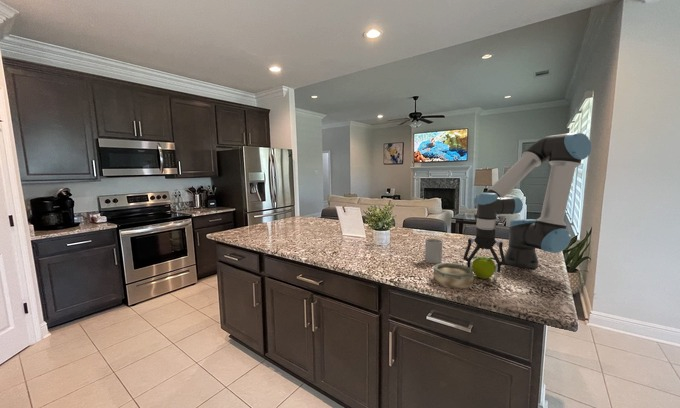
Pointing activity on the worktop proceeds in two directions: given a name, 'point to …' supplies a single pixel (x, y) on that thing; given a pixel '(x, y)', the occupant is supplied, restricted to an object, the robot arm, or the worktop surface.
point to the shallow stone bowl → (453, 275)
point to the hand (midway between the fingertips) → (482, 277)
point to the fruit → (483, 267)
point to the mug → (433, 251)
